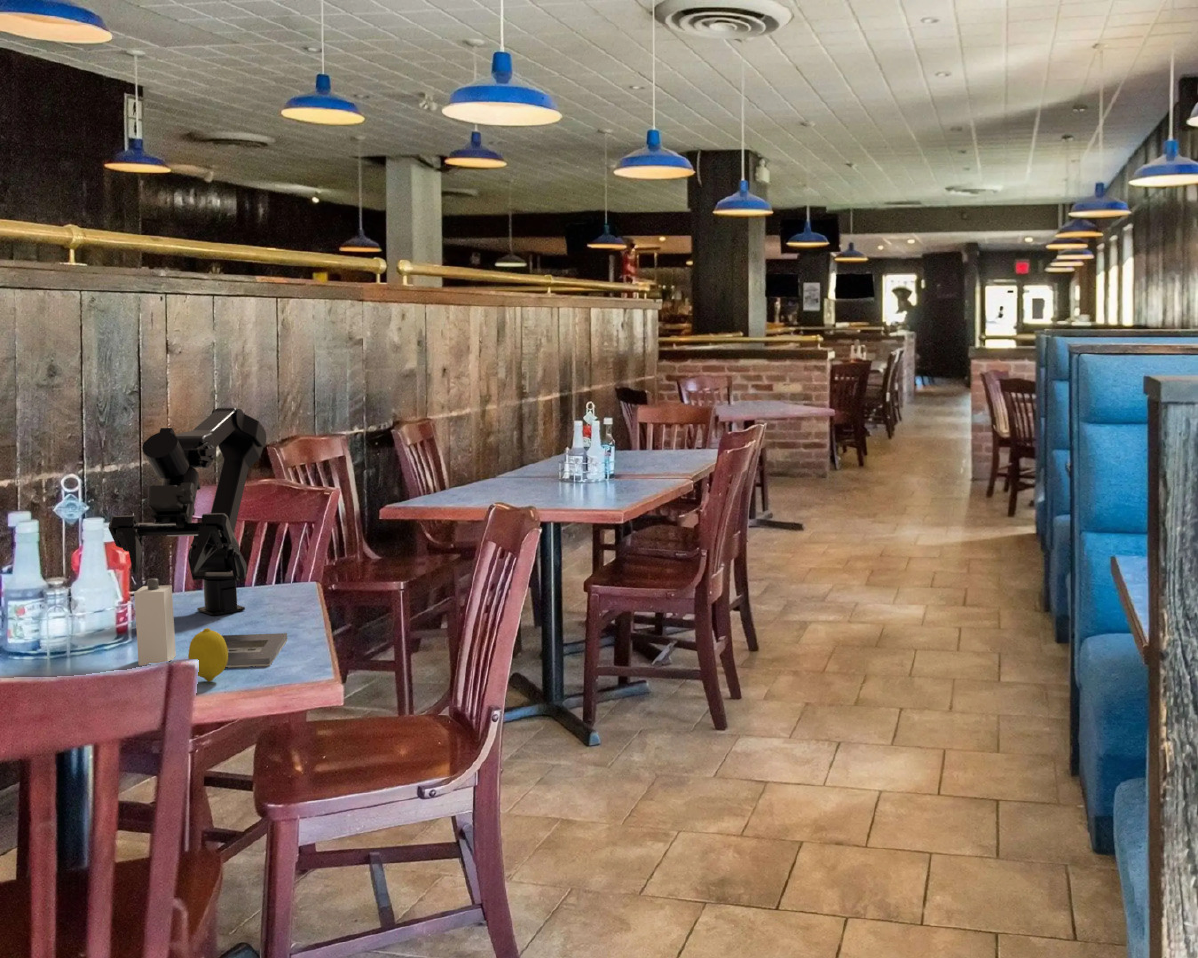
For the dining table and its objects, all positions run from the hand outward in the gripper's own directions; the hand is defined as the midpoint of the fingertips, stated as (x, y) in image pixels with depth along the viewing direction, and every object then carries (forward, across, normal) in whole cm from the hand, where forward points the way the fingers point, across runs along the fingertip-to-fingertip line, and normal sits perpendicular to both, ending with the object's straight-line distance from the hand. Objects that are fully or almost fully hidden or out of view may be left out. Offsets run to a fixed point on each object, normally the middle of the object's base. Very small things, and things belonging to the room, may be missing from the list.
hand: (163, 572), depth 198 cm
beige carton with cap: (+14, 0, +4) cm, 14 cm away
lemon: (+23, +11, -5) cm, 26 cm away
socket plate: (+12, +12, +6) cm, 18 cm away
